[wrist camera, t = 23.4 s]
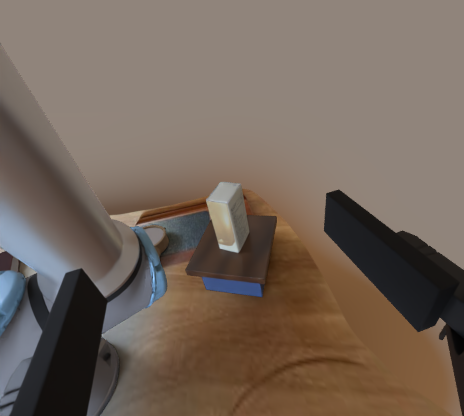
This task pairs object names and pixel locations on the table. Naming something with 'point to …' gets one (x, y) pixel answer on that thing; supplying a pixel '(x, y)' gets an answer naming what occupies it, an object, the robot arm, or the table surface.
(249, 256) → the board
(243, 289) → the blue box
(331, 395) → the table surface
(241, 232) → the cosmetic box
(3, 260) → the book
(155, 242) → the alarm clock
